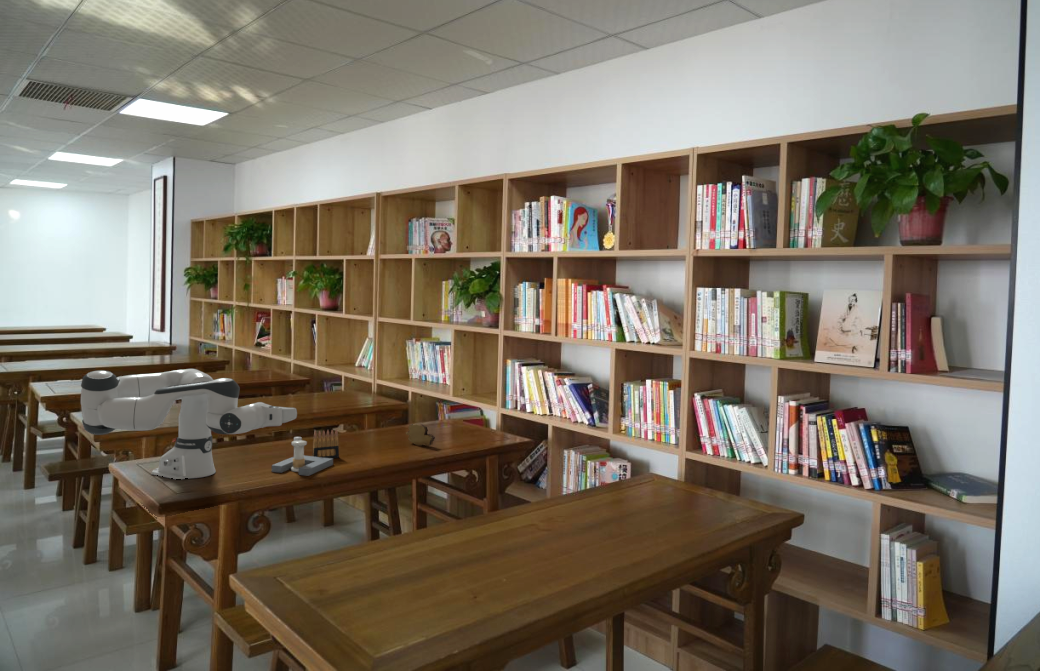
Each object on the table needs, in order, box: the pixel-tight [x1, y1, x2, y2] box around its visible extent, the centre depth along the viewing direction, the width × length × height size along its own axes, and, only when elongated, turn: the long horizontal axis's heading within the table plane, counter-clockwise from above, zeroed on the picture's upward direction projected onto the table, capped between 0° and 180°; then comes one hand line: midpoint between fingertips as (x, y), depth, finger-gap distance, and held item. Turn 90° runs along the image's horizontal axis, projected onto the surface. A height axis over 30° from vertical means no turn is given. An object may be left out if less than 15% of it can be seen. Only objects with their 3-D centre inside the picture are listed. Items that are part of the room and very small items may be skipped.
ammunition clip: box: [311, 429, 340, 459], centre depth 297 cm, size 11×2×12 cm, turn 121°
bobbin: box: [290, 440, 308, 473], centre depth 277 cm, size 6×6×11 cm
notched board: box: [271, 436, 334, 477], centre depth 280 cm, size 16×18×10 cm
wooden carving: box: [405, 422, 436, 447], centre depth 327 cm, size 16×5×10 cm, turn 59°
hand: (281, 408), depth 264 cm, fingers open, 8 cm apart
